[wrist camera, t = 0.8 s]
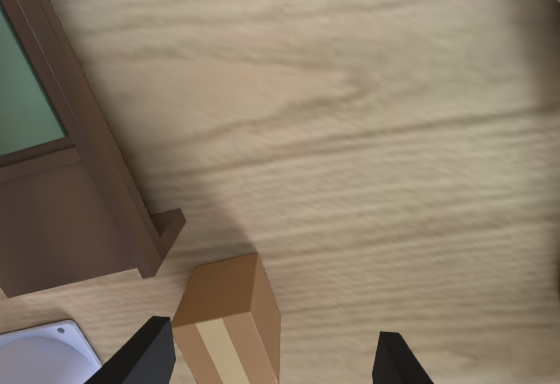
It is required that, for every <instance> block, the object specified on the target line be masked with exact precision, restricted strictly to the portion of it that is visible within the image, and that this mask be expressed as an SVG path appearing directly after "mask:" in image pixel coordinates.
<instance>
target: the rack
mask: <svg viewBox="0 0 560 384" xmlns="http://www.w3.org/2000/svg"><path fill="white" fill-rule="evenodd" d="M185 223H186V220H185V218H184V215H183V213H182V211H181V209H180V208H179V209H175V210H171V211H167V212H163V213H159V214H155V215H151V216H149V213H148V211H147V209H146V207H145V205H144V203H143V200H142V198H141V196H140V194H139V192H138V190H137V188H136V185H135V183H134V181H133V179H132V177H131V175H130V172H129V170H128V168H127V166H126V164H125V162H124V159H123V157H122V155H121V153H120V151H119V149H118V146H117V144H116V142H115V140H114V138H113V136H112V134H111V131H110V129H109V127H108V125H107V123H106V121H105V118H104V116H103V114H102V112H101V110H100V108H99V105H98V103H97V101H96V99H95V97H94V95H93V93H92V90H91V88H90V86H89V84H88V82H87V80H86V77H85V75H84V73H83V71H82V69H81V67H80V64H79V62H78V60H77V58H76V56H75V54H74V51H73V49H72V47H71V45H70V43H69V41H68V39H67V36H66V34H65V32H64V30H63V28H62V26H61V23H60V21H59V19H58V17H57V15H56V13H55V10H54V8H53V6H52V4H51V2H50V0H0V288H1V289H2V290H3V292H4V293H5V295H6V296H7V297H8V298H11V297H15V296H19V295H23V294H28V293H32V292H36V291H41V290H45V289H49V288H53V287H58V286H62V285H66V284H70V283H75V282H79V281H83V280H87V279H92V278H96V277H100V276H105V275H109V274H113V273H117V272H122V271H126V270H130V269H134V268H138V270H139V272H140V274H141V276H142V278H143V279H145V278H150V277H154V276H155V274H156V273H157V271H158V269H159V267H160V266H161V264H162V261H163V260H164V258H165V257H166V255H167V253H168V251H169V250H170V248H171V246H172V245H173V243H174V241H175V240H176V238H177V236H178V234H179V233H180V231H181V229H182V228H183V226H184V224H185Z"/></svg>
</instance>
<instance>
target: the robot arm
mask: <svg viewBox="0 0 560 384" xmlns="http://www.w3.org/2000/svg"><path fill="white" fill-rule="evenodd" d="M175 361H176V357H175V349H174V342H173V335H172V327H171V320H170V317H160V316H152V317H151V318H150V319H149V320H148V321H147V322H146V323H145V324H144V325H143V326H142V327H141V328H140V329H139V330H138V331H137V332H136V333H135V334H134V335H133V336H132V338H131V339H130V340H129V341H128V342H127V343H126V344H125V345H124V346H123V347H122V348H121V349H120V350H119V351H118V352H116V353H115V354H114V355H113V356H112V357H111V358H110V359H109V360H108V361H107V362H106V363H105V364H104V365H102V364H101V362H100V361H99V359H98V358H97V356H96V354H95V353H94V351H93V350H92V348H91V347H90V345H89V343H88V342H87V340H86V339H85V337H84V335H83V334H82V332H81V331H80V329H79V328H78V326H77V324H76V323H75V322H74V321H72V320H65V321H60V322H56V323H51V324H47V325H42V326H38V327H33V328H29V329H24V330H19V331H15V332H10V333H6V334H1V335H0V384H169V381H170V378H171V375H172V371H173V368H174V364H175ZM372 378H373V384H434V383H433V382H432V380H431V379H430V378H429V376H428V375H427V373H426V372H425V370H424V369H423V368H422V366H421V365H420V363H419V362H418V360H417V359H416V357H415V356H414V354H413V353H412V351H411V350H410V348H409V347H408V345H407V344H406V342H405V341H404V339H403V337H402V336H401V335H400V334H399V333H396V332H381V331H380V336H379V341H378V346H377V351H376V356H375V361H374V366H373V371H372Z"/></svg>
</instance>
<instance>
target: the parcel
mask: <svg viewBox="0 0 560 384" xmlns="http://www.w3.org/2000/svg"><path fill="white" fill-rule="evenodd" d="M171 327H172V335H173V337H174V339H175V341H176V343H177V345H178V347H179V349H180V350H181V352H182V354H183V356H184V358H185V360H186V362H187V364H188V366H189V368H190V370H191V372H192V374H193V376H194V378H195V380H196V382H197V384H279V372H280V329H281V316H280V313H279V310H278V307H277V305H276V302H275V299H274V296H273V293H272V290H271V287H270V284H269V282H268V279H267V276H266V273H265V270H264V267H263V264H262V262H261V259H260V256H259V253H253V254H249V255H245V256H240V257H236V258H232V259H227V260H223V261H219V262H214V263H210V264H206V265H201V266H197V267H195V268H194V271H193V273H192V276H191V278H190V280H189V283H188V285H187V287H186V290H185V292H184V294H183V297H182V299H181V302H180V304H179V306H178V309H177V311H176V313H175V316H174V318H173V320H172V323H171Z"/></svg>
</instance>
